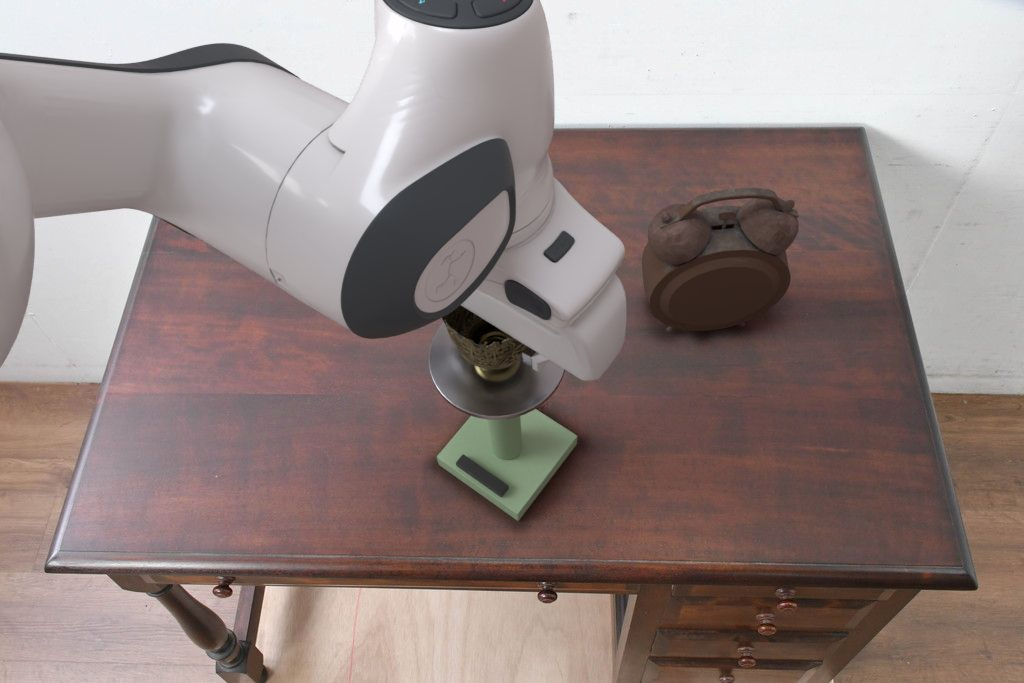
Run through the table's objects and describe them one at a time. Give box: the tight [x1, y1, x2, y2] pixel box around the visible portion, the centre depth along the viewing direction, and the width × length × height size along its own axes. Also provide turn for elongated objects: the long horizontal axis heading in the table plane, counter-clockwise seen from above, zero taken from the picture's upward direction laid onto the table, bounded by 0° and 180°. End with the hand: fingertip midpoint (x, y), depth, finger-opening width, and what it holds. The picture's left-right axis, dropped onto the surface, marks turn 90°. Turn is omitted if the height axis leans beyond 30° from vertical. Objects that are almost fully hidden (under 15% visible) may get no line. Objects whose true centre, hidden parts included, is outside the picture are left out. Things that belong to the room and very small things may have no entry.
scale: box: [436, 408, 578, 522], centre depth 73 cm, size 10×10×18 cm
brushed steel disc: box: [428, 321, 566, 420], centre depth 64 cm, size 11×11×2 cm
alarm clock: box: [641, 187, 800, 333], centre depth 80 cm, size 15×7×20 cm, turn 94°
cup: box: [441, 305, 528, 371], centre depth 60 cm, size 8×7×8 cm
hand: (494, 334), depth 61 cm, fingers closed on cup, 7 cm apart
